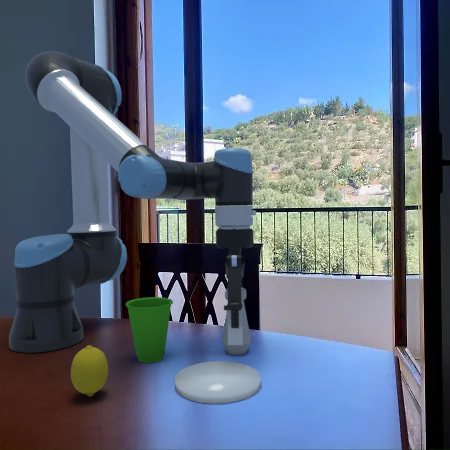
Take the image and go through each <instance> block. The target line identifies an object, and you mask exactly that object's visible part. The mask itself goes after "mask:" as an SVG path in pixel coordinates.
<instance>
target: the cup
mask: <svg viewBox="0 0 450 450" xmlns="http://www.w3.org/2000/svg"><path fill="white" fill-rule="evenodd" d="M172 304H174V300H173V299H171V298H169V297H159V296H151V297H150V296H149V297H141V298H140V297H139V298H135V299H134V298H133V299H131V300H128V301H127V302H126V303H125V307H127V311H128V317H129V321H130V328H131V333H132V339H133V343H134V349H135V354H136V358H137V360H138V361H139V362H141V363H145V364H146V363H147V364H148V363H151V364H152V363H157V362H160V361H162V360H163V358H164V356H165V354H166V353H165V351H166V344H167V337H168V331H169V322H170V314H171V307H172Z"/></svg>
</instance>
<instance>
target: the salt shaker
mask: <svg viewBox="0 0 450 450" xmlns="http://www.w3.org/2000/svg"><path fill="white" fill-rule="evenodd" d="M244 288H245V287H243V286H242V287H241V304H242V322H243V345H228V310H226V312H225V313H226V314H225V318H224V319H225V320H224V325H223V326H224V327H223V332H222V339H221V342H222V345H223V348H224V350H225V351H226V353H227V354H228V355H230V356H231V355H232V356H241V355H245V354H246V353H247V352H248V349H249V347H250V345H251V339H252V338H251V335H250V328H249V324H248V318H247V312H246V306H245V300H246V299H247V289H246V288H245V289H244ZM224 298H225V300H227V301H228V287H227V288H226V289H225V293H224Z"/></svg>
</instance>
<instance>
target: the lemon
mask: <svg viewBox="0 0 450 450" xmlns="http://www.w3.org/2000/svg"><path fill="white" fill-rule="evenodd" d="M108 377H109V364H108V360H107V356H106V355H105V353H104V352H103V351H102V350H101V349H99V348H98V347H94V346H92V345H86V347H84V348H81V349H80V351H78V352H77V353H76V354H75V356H74V358H73V359H72V362H71V366H70V380H71V383H72V384H73V385H72V386H73V387H74V388H75V390H76V391H78V392H79V393H81V394H82V395H83V394H85V395H87V397H93V396H94V395H95V394H96V393H97V392H99V391H100V390H101V389H102V388H103V387H104V386H105V385H106V382H107V381H108Z"/></svg>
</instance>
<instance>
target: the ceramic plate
mask: <svg viewBox="0 0 450 450" xmlns="http://www.w3.org/2000/svg"><path fill="white" fill-rule="evenodd" d="M261 382H262V381H261V374H260V373H259V371H258V370H257V369H256V368H254V367H252V366H250V365H248V364H244V363H241V362H236V361H224V360H214V361H205V362H199V363H196V364H192V365H189V366H187V367H184V368H183V369H181V370H179V372H177V374H176V375H175V378H174V387H175V388H174V389H175V391H176V392H177V394H178V395H179V396H181V397H182V398H184V399H186V400H188V401H192V402H196V403H202V404H210V405H213V404H214V405H220V404H224V405H225V404H230V403H231V404H232V403H235V402H240V401H243V400H246V399H248V398H251V397H253V396H254V395H256V394H257V393H258V392H259V391H260V389H261Z"/></svg>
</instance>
